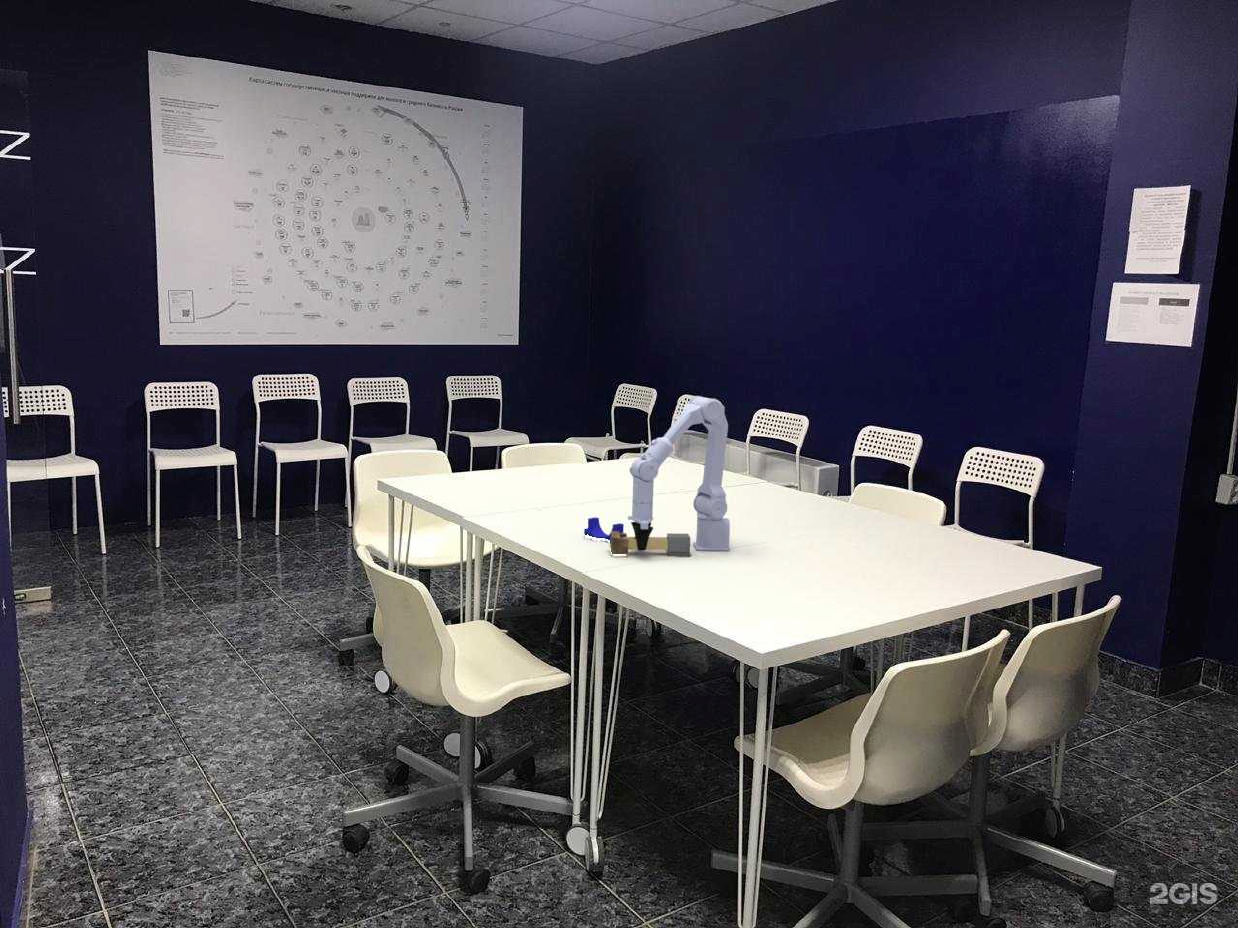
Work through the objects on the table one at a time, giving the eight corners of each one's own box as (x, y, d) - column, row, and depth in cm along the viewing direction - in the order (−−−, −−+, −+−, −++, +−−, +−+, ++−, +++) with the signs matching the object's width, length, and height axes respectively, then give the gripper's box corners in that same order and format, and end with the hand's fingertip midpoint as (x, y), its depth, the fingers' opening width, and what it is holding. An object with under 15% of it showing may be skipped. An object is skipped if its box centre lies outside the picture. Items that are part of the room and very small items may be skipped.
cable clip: (584, 538, 299) (584, 519, 298) (595, 536, 302) (595, 517, 301) (612, 546, 290) (612, 526, 289) (623, 544, 293) (623, 524, 292)
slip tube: (670, 547, 283) (670, 537, 283) (671, 550, 280) (672, 539, 280) (619, 547, 282) (619, 536, 282) (620, 549, 279) (620, 539, 279)
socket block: (625, 550, 285) (626, 531, 284) (628, 557, 277) (628, 537, 276) (610, 549, 285) (610, 531, 284) (611, 556, 277) (612, 537, 276)
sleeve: (687, 551, 285) (687, 533, 285) (689, 556, 279) (690, 538, 279) (666, 551, 285) (666, 532, 284) (668, 556, 279) (669, 537, 278)
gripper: (626, 496, 286) (624, 542, 288) (630, 506, 272) (629, 554, 274) (650, 496, 286) (649, 542, 289) (656, 506, 272) (654, 555, 274)
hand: (641, 548), depth 281 cm, fingers closed on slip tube, 3 cm apart
